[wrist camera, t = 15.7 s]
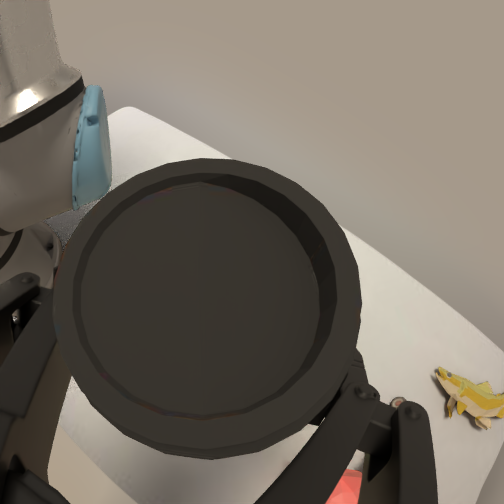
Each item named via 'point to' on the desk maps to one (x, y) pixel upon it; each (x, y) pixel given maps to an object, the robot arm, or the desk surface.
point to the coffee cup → (208, 307)
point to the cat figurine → (347, 488)
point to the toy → (471, 398)
